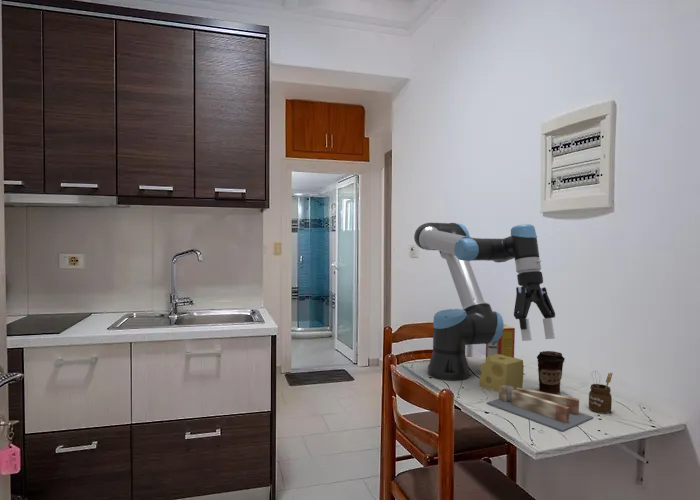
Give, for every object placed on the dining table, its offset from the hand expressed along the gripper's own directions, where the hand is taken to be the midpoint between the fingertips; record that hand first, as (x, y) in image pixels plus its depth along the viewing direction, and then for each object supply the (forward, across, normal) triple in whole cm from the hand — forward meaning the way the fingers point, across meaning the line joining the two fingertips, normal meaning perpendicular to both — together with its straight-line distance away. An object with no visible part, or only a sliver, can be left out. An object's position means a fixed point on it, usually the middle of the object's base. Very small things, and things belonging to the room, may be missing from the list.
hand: (538, 339), depth 142 cm
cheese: (+15, +3, +18) cm, 23 cm away
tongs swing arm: (+19, -3, -1) cm, 20 cm away
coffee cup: (+17, +11, +5) cm, 21 cm away
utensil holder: (+22, +9, -11) cm, 26 cm away
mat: (+20, -7, 0) cm, 21 cm away
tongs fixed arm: (+20, -8, 0) cm, 21 cm away
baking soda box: (+10, +25, +33) cm, 42 cm away
